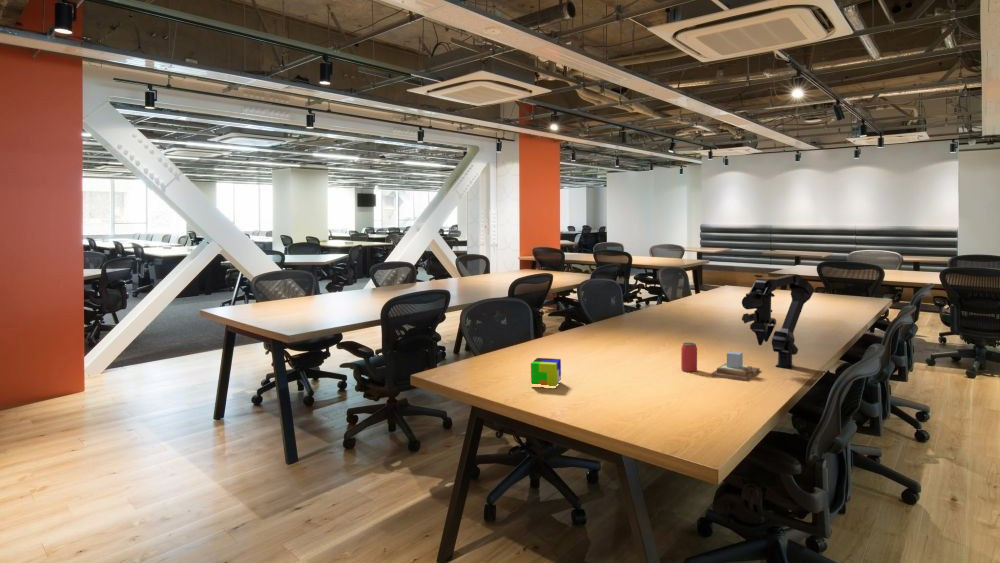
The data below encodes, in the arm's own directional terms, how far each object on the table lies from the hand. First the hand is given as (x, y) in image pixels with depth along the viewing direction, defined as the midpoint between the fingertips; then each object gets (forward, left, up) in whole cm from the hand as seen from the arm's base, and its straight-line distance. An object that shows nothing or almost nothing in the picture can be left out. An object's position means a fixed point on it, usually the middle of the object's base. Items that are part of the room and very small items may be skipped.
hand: (763, 343), depth 246 cm
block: (+13, -8, -9) cm, 17 cm away
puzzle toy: (+71, -65, -12) cm, 97 cm away
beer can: (+17, -26, -12) cm, 33 cm away
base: (+11, -8, -12) cm, 18 cm away
